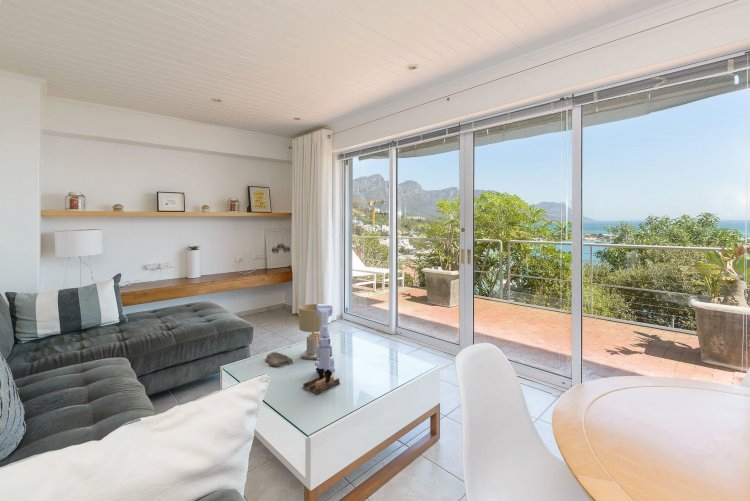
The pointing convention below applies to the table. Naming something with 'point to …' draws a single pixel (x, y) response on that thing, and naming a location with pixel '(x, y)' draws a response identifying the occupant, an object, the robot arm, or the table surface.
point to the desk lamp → (310, 329)
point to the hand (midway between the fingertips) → (324, 380)
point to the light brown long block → (322, 382)
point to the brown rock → (278, 359)
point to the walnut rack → (311, 386)
